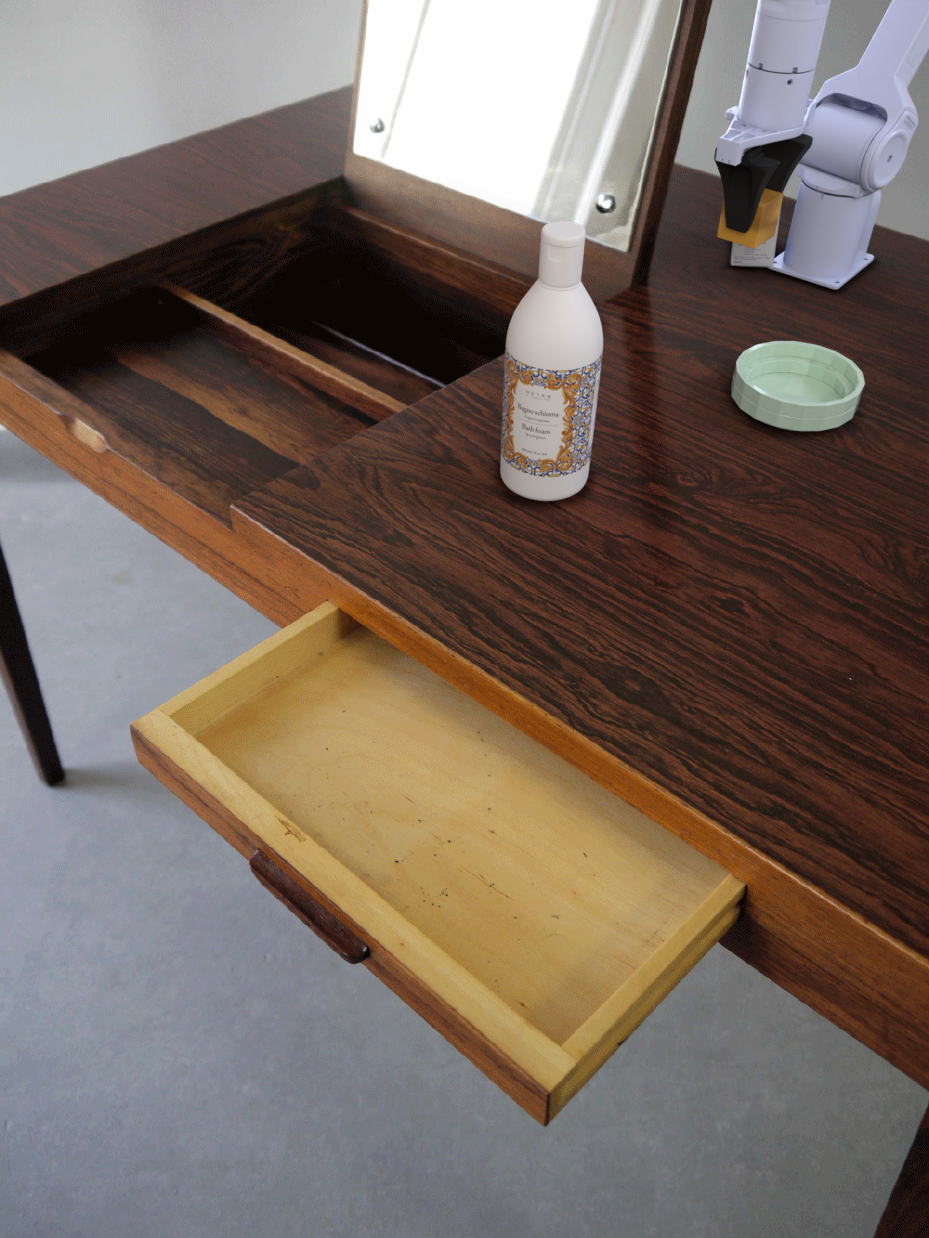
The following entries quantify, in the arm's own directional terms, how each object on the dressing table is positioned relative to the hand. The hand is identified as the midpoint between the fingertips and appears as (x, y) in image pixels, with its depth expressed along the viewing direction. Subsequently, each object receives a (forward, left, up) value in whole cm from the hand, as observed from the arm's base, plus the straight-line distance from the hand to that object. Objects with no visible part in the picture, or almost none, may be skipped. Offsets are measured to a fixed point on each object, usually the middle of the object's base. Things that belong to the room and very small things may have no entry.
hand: (749, 221), depth 99 cm
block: (0, 0, -1) cm, 1 cm away
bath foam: (+36, +3, -9) cm, 37 cm away
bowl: (+13, +13, -8) cm, 20 cm away
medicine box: (-12, -4, -8) cm, 15 cm away
